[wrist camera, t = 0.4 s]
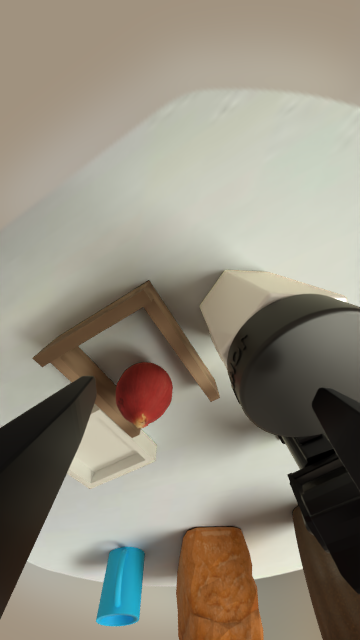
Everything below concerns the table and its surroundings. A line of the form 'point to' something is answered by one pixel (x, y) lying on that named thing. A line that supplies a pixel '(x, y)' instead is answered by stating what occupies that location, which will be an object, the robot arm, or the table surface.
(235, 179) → the table surface
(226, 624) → the bread
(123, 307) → the bay
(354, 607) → the plant pot
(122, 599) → the mug
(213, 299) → the jar
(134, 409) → the onion
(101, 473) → the tray
